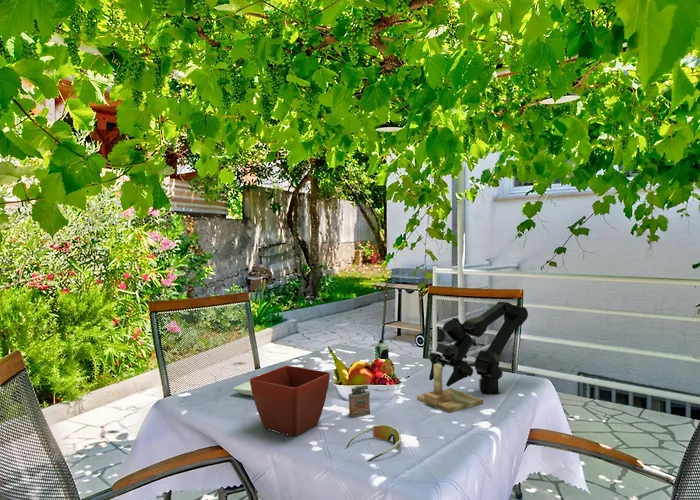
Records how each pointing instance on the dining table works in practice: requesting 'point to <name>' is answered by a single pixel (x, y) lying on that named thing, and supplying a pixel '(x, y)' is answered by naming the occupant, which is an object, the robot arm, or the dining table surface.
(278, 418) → the plant pot
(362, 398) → the lighter
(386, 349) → the spray can
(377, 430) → the sunglasses
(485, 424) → the dining table surface
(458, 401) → the board
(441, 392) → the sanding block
